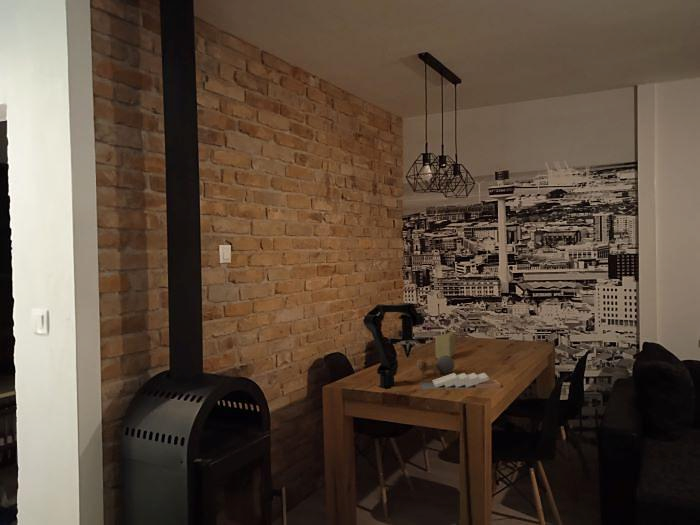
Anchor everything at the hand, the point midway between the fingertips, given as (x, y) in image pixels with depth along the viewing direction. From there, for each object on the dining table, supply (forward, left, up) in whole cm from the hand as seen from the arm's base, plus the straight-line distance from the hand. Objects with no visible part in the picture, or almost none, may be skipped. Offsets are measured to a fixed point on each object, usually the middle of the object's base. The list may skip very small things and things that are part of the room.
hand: (407, 357), depth 296 cm
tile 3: (+12, -21, -12) cm, 27 cm away
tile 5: (+21, -27, -12) cm, 36 cm away
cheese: (+66, +40, -13) cm, 79 cm away
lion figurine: (+19, +6, -13) cm, 24 cm away
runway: (+12, -21, -13) cm, 27 cm away
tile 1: (+4, -15, -12) cm, 20 cm away
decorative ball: (+30, +4, -13) cm, 33 cm away
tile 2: (+8, -18, -12) cm, 23 cm away
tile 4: (+16, -24, -12) cm, 31 cm away
